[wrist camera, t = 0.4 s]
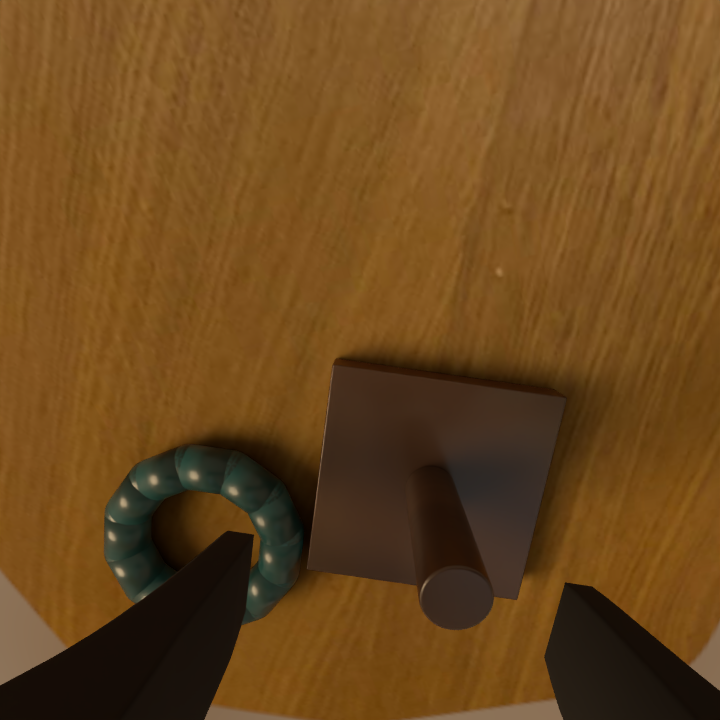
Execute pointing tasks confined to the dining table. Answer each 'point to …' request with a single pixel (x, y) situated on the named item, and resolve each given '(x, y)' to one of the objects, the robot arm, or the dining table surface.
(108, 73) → the dining table surface
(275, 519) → the ring
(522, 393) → the post
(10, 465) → the dining table surface
